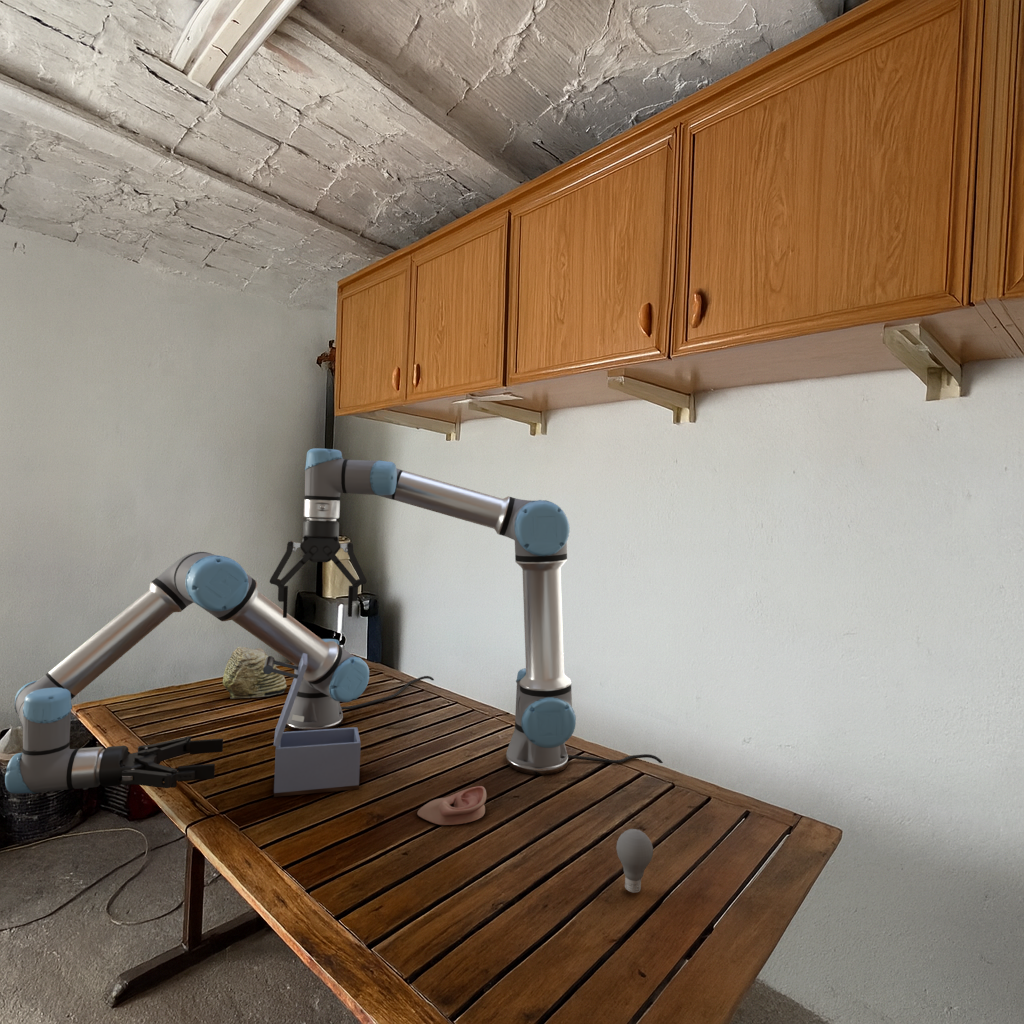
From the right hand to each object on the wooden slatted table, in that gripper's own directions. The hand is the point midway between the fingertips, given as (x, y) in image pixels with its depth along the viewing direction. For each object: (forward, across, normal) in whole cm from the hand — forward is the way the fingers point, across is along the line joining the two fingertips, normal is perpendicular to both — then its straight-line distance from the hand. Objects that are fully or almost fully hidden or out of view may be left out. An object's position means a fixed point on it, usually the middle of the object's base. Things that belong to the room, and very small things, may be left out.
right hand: (317, 616), depth 139 cm
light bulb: (+37, +51, -52) cm, 82 cm away
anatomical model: (+37, +27, -20) cm, 50 cm away
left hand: (+30, -19, 0) cm, 35 cm away
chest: (+37, +1, 0) cm, 37 cm away
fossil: (+37, -16, +67) cm, 78 cm away
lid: (+18, -4, 0) cm, 19 cm away
